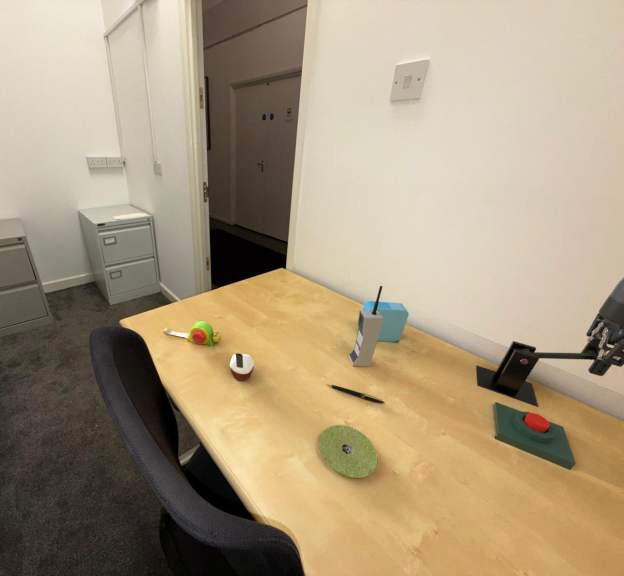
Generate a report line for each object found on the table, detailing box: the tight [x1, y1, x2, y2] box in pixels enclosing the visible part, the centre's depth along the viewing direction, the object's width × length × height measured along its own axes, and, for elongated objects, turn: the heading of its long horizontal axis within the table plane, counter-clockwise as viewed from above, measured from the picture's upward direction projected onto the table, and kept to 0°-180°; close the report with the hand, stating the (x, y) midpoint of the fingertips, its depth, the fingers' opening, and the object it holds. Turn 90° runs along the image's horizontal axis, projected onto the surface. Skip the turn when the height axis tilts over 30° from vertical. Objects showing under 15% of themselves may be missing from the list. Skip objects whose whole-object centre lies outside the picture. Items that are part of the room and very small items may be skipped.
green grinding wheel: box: [318, 424, 378, 479], centre depth 61 cm, size 11×11×2 cm
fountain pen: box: [326, 383, 386, 404], centre depth 75 cm, size 14×1×2 cm, turn 66°
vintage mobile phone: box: [348, 285, 384, 368], centre depth 80 cm, size 4×5×25 cm
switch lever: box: [514, 347, 600, 362], centre depth 69 cm, size 14×6×2 cm, turn 56°
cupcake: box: [229, 352, 255, 381], centre depth 77 cm, size 10×6×12 cm, turn 147°
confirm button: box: [524, 412, 550, 433], centre depth 64 cm, size 4×4×2 cm
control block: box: [492, 401, 576, 471], centre depth 65 cm, size 12×10×4 cm
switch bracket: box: [475, 340, 540, 408], centre depth 75 cm, size 12×9×13 cm
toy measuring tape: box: [162, 320, 221, 346], centre depth 93 cm, size 6×19×7 cm, turn 71°
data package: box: [357, 300, 410, 343], centre depth 94 cm, size 12×4×12 cm, turn 84°
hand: (590, 365), depth 67 cm, fingers closed on switch lever, 5 cm apart
